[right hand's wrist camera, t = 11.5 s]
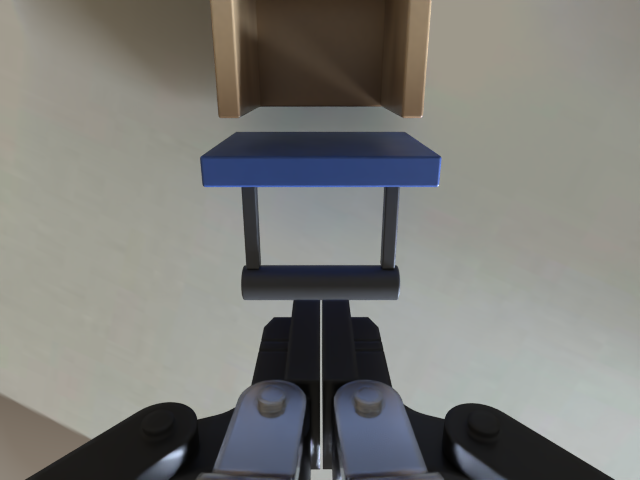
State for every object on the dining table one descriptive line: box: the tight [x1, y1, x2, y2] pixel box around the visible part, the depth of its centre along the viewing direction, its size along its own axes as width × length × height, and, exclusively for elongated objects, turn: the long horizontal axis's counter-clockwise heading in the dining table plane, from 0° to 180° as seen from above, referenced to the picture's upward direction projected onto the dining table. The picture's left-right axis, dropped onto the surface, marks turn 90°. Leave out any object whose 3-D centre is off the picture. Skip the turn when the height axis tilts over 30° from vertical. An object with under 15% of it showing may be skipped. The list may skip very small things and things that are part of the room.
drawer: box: [200, 0, 441, 300], centre depth 19 cm, size 24×9×8 cm, turn 0°
